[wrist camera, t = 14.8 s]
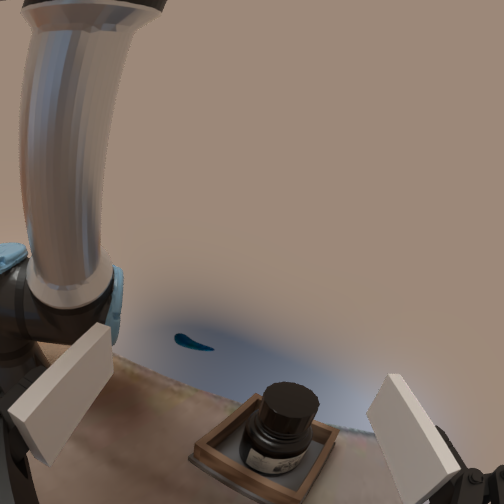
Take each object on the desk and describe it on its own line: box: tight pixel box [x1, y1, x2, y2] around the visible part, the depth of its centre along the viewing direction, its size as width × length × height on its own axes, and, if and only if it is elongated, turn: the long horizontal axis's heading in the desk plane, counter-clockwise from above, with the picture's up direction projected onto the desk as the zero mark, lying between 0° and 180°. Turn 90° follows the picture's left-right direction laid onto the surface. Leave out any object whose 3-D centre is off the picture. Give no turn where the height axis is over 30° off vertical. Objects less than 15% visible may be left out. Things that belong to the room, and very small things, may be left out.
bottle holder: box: [188, 393, 340, 504], centre depth 31 cm, size 16×16×4 cm
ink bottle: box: [239, 382, 320, 476], centre depth 30 cm, size 10×9×12 cm
